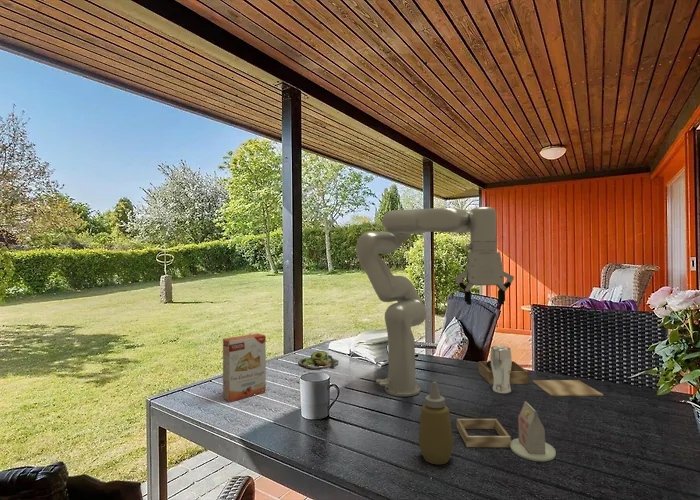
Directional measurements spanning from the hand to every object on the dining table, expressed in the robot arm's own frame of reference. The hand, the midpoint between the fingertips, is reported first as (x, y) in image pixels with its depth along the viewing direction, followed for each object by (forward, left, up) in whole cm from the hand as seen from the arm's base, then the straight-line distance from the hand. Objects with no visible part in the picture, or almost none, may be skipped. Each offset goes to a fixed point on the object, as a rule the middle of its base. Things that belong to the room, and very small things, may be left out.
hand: (484, 304), depth 116 cm
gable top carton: (+4, -22, -33) cm, 39 cm away
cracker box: (-80, +16, -33) cm, 88 cm away
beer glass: (+11, +20, -33) cm, 41 cm away
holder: (-6, -15, -33) cm, 37 cm away
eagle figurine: (+14, +34, -34) cm, 50 cm away
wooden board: (+34, +22, -33) cm, 52 cm away
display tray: (+16, +34, -33) cm, 50 cm away
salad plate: (-59, +56, -34) cm, 88 cm away
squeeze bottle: (-20, -26, -33) cm, 47 cm away
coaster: (+4, -22, -33) cm, 40 cm away
